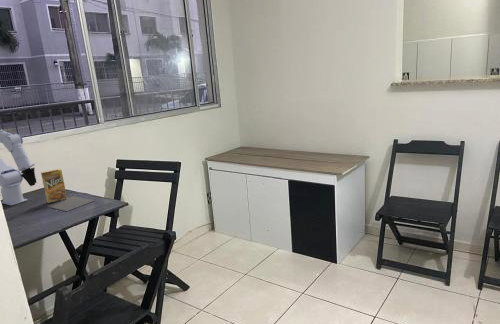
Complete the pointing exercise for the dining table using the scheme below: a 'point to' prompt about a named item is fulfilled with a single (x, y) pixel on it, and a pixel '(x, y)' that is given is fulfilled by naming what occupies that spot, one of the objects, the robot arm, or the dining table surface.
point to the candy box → (54, 185)
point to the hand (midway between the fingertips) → (33, 184)
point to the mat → (70, 203)
